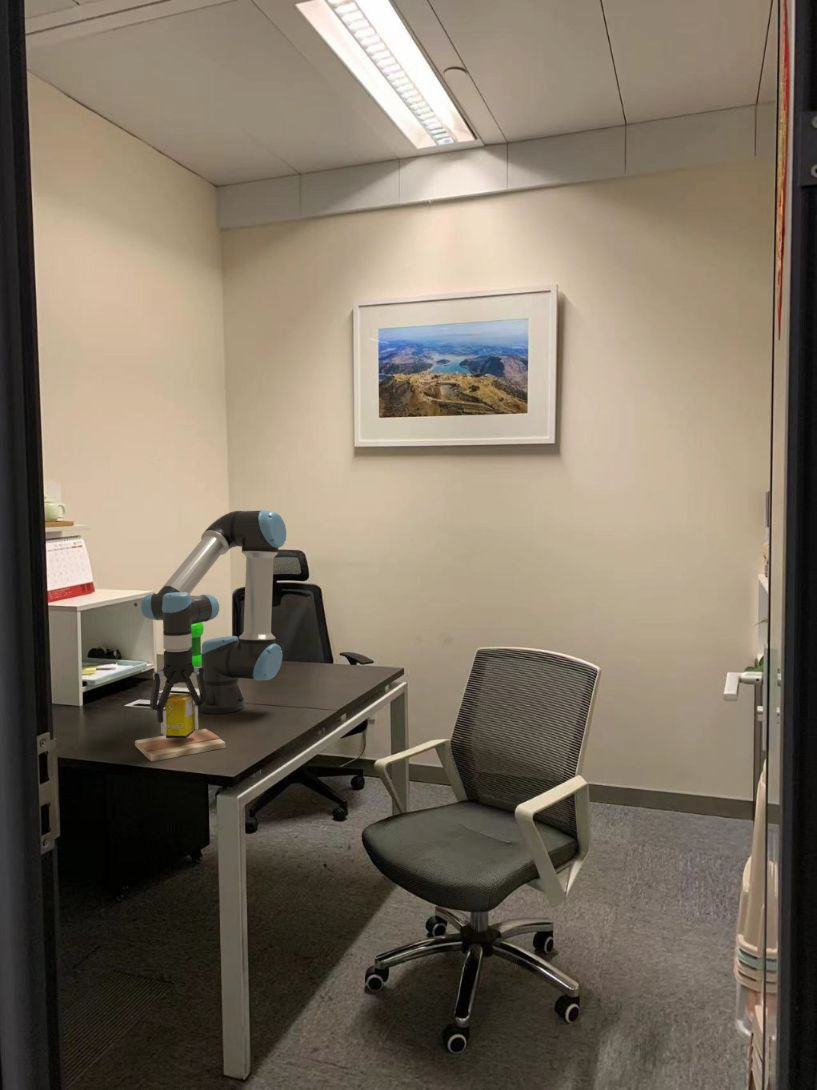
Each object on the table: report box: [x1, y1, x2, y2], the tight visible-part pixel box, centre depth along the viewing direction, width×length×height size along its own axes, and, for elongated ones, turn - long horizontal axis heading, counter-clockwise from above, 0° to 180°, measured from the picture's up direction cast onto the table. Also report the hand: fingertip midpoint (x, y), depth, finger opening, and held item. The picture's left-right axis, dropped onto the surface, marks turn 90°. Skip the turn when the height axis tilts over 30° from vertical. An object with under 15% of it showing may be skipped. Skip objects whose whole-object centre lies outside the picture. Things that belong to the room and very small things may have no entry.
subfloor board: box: [134, 728, 226, 763], centre depth 216 cm, size 20×16×2 cm
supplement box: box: [164, 693, 195, 738], centre depth 215 cm, size 6×6×11 cm
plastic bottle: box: [190, 622, 205, 667], centre depth 314 cm, size 10×10×25 cm
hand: (179, 730), depth 216 cm, fingers closed on supplement box, 8 cm apart
